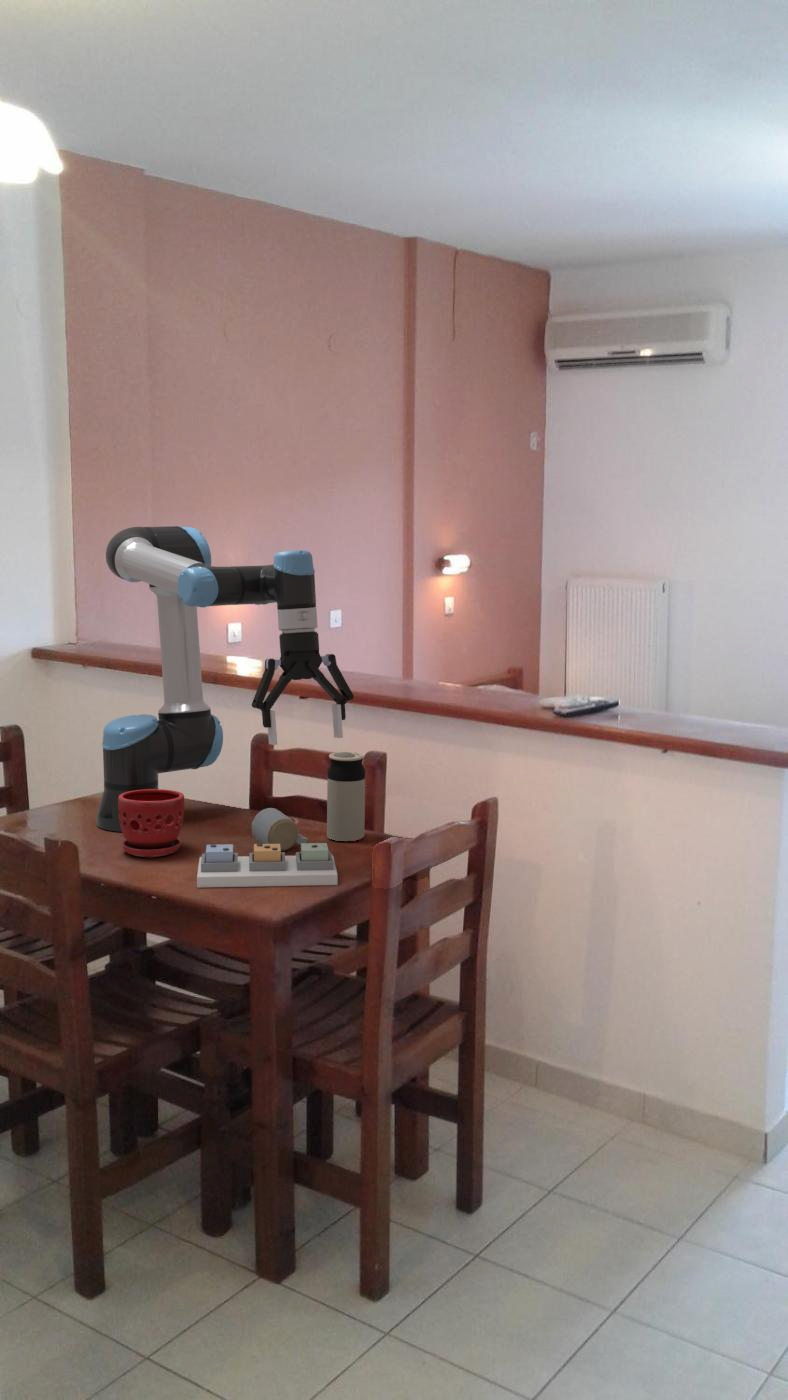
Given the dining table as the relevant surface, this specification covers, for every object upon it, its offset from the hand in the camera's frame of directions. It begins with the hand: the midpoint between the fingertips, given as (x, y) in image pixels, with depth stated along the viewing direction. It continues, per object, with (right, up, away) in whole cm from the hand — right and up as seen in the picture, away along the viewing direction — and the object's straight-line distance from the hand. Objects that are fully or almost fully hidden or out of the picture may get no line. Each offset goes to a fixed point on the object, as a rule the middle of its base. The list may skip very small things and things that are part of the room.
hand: (306, 741), depth 245 cm
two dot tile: (-16, -22, -5) cm, 28 cm away
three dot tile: (-7, -22, -4) cm, 23 cm away
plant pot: (-32, -23, +12) cm, 41 cm away
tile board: (-7, -26, -3) cm, 27 cm away
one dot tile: (+2, -22, -3) cm, 22 cm away
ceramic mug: (-6, -23, +17) cm, 29 cm away
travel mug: (+7, -22, +24) cm, 33 cm away
